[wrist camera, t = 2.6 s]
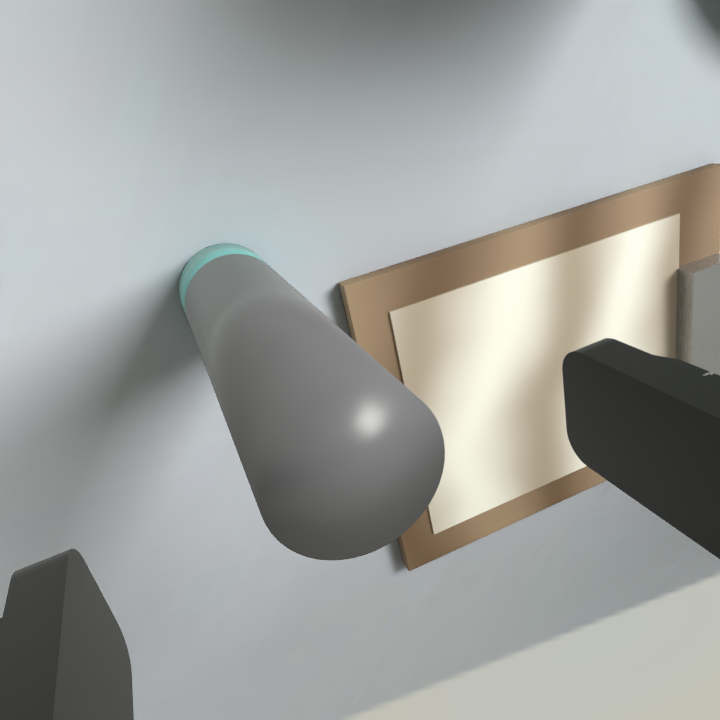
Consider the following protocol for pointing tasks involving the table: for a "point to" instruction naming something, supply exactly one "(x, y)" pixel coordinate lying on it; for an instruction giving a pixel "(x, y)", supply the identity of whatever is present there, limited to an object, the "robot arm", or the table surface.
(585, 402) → the robot arm
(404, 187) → the table surface
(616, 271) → the clipboard
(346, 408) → the marker
